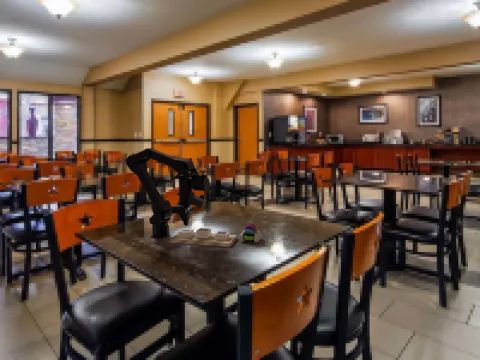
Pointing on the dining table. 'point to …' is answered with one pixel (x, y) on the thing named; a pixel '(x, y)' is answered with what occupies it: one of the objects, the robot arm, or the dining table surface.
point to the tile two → (203, 233)
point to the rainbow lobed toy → (250, 233)
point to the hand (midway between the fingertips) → (186, 225)
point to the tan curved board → (204, 240)
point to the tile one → (186, 233)
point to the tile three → (222, 236)
